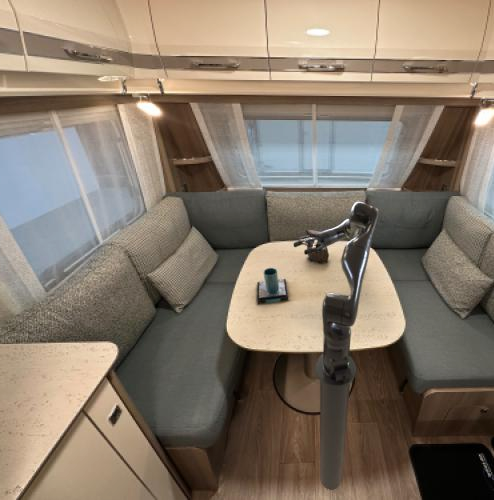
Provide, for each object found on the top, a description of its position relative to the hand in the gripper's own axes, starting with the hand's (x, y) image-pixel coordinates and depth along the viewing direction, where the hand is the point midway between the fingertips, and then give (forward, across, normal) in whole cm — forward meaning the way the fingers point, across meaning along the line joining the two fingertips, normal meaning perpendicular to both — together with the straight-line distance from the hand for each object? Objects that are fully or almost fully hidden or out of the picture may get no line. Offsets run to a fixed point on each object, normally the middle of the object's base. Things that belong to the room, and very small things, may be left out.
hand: (299, 248), depth 121 cm
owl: (-30, -22, +28) cm, 47 cm away
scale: (+10, -12, +28) cm, 32 cm away
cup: (+10, -12, +25) cm, 29 cm away
